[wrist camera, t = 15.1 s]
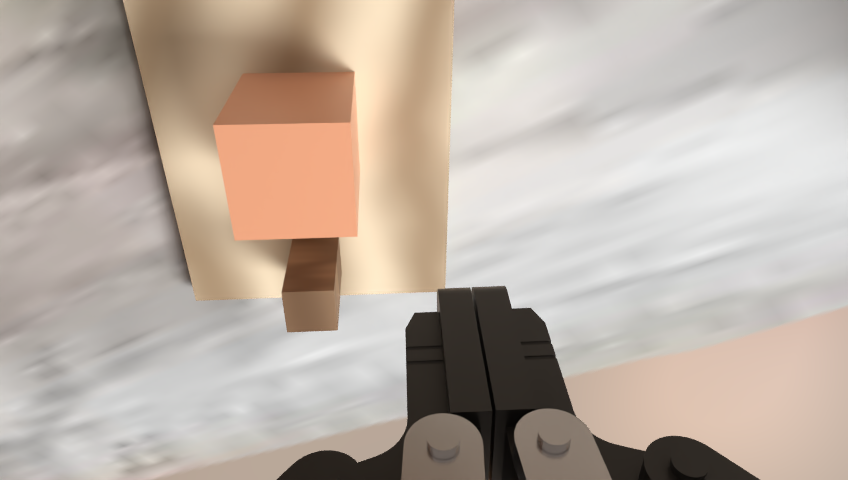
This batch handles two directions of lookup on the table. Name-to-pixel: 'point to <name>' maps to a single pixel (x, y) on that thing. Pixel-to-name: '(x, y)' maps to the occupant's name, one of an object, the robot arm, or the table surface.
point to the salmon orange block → (291, 155)
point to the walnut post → (312, 285)
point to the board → (376, 117)
